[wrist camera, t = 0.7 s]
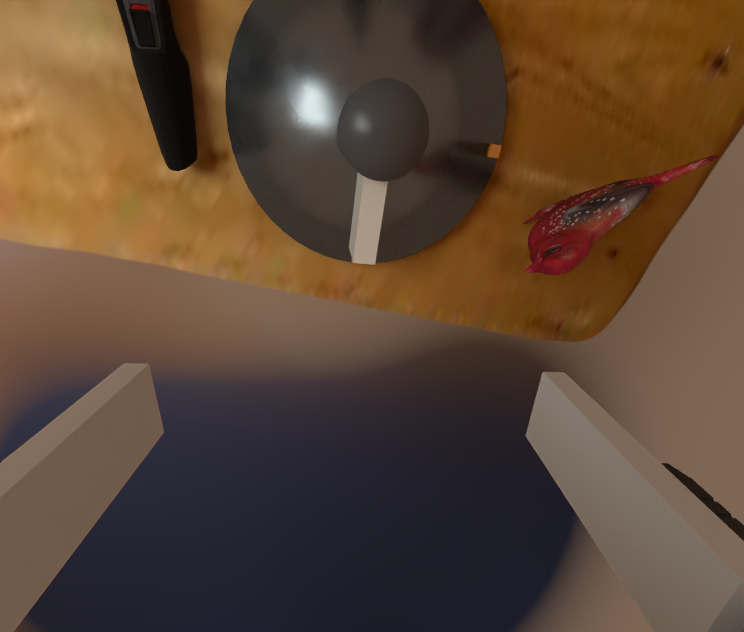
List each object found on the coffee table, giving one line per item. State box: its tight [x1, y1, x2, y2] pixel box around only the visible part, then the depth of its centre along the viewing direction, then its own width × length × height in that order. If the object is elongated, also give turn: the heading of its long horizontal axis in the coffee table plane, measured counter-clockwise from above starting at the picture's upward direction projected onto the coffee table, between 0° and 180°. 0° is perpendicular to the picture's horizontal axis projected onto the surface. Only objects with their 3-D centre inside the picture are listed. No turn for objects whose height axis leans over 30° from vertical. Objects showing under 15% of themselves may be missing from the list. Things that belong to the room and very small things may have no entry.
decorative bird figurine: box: [523, 155, 718, 275], centre depth 30 cm, size 3×18×10 cm, turn 118°
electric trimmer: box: [116, 0, 197, 171], centre depth 23 cm, size 4×16×3 cm, turn 178°
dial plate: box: [226, 0, 507, 263], centre depth 28 cm, size 22×22×2 cm
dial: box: [335, 78, 429, 265], centre depth 26 cm, size 12×6×5 cm, turn 172°
